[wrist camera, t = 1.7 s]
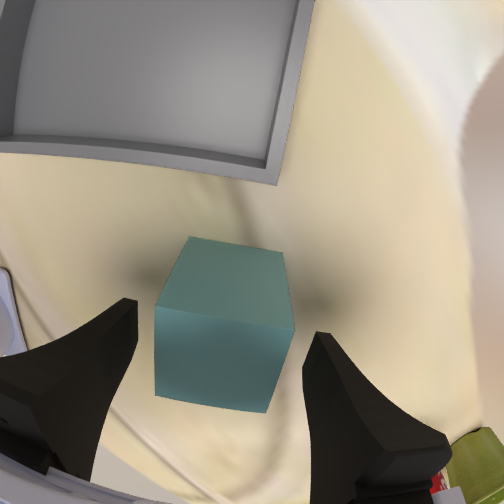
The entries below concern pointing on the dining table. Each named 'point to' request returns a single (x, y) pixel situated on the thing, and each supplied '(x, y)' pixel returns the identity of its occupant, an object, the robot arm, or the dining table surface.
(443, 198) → the dining table surface
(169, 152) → the tray
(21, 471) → the robot arm
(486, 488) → the plant pot
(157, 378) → the teal block
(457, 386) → the dining table surface
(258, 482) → the dining table surface
